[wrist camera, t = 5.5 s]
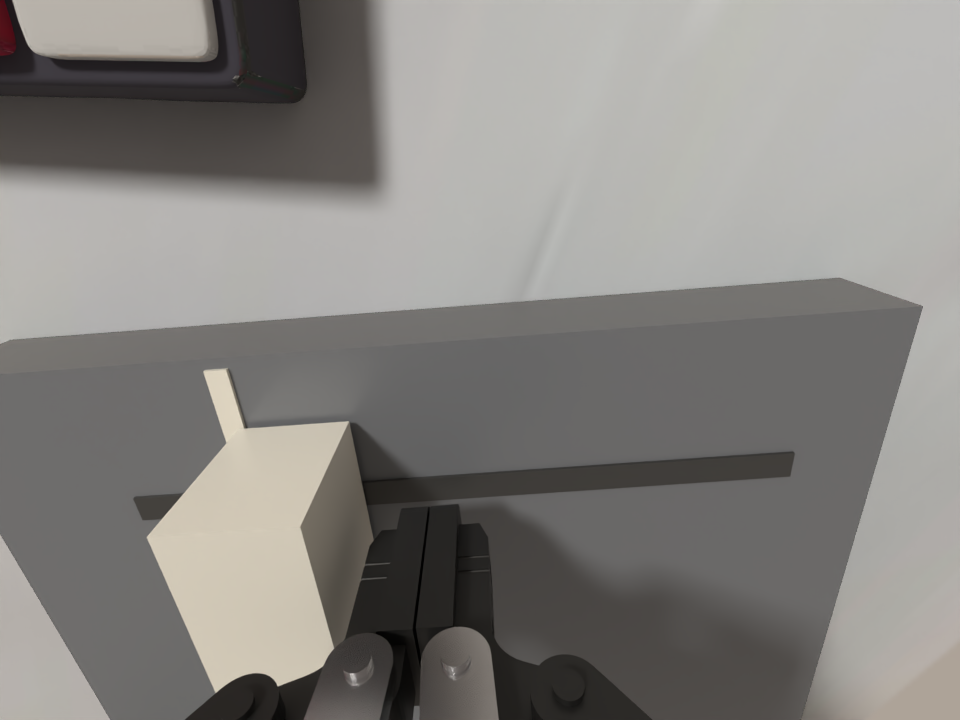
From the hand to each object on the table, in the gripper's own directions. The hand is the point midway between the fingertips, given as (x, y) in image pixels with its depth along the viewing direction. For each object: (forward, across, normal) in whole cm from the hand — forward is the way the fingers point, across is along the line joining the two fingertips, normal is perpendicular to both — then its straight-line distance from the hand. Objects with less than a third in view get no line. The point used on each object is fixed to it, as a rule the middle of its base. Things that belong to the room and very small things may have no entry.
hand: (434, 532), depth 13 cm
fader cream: (+1, +4, 0) cm, 4 cm away
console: (+5, 0, +6) cm, 8 cm away
